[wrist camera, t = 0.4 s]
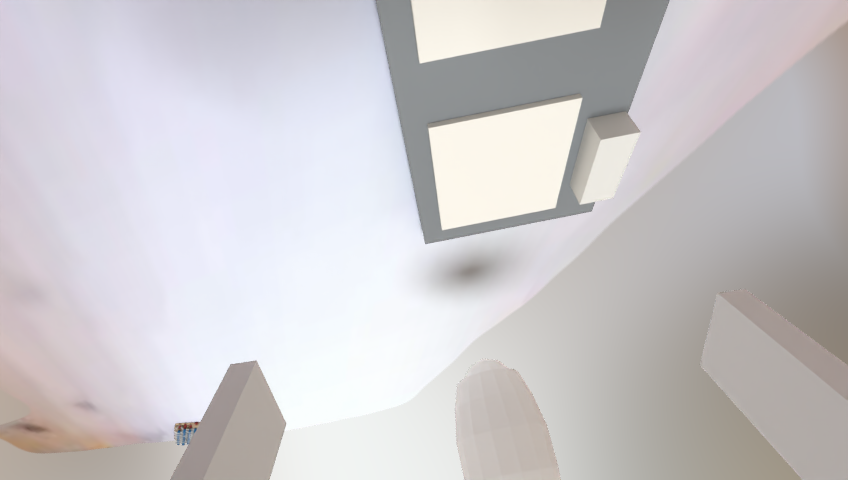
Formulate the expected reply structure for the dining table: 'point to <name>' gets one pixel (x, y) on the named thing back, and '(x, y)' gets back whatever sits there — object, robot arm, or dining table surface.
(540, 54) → the coaster board
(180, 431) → the woven mat
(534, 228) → the dining table surface
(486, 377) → the cup
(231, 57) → the dining table surface
